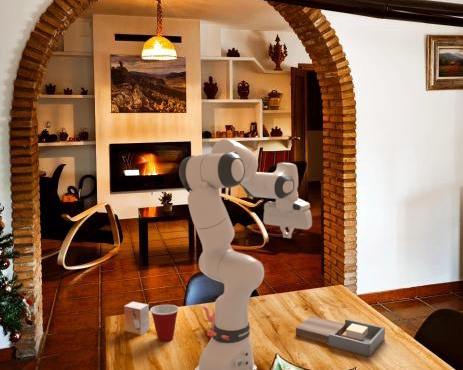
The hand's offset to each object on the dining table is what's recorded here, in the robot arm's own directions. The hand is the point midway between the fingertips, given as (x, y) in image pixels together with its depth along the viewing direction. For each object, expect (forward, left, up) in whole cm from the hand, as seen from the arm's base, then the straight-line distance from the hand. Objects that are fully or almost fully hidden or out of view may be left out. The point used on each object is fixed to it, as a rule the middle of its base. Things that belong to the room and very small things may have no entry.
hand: (287, 237), depth 197 cm
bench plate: (-5, -17, -34) cm, 38 cm away
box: (-5, -31, -34) cm, 47 cm away
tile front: (-5, -30, -34) cm, 45 cm away
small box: (-41, +44, -34) cm, 69 cm away
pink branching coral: (-22, +16, -34) cm, 44 cm away
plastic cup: (-40, +30, -34) cm, 61 cm away
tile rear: (-5, -31, -31) cm, 44 cm away
